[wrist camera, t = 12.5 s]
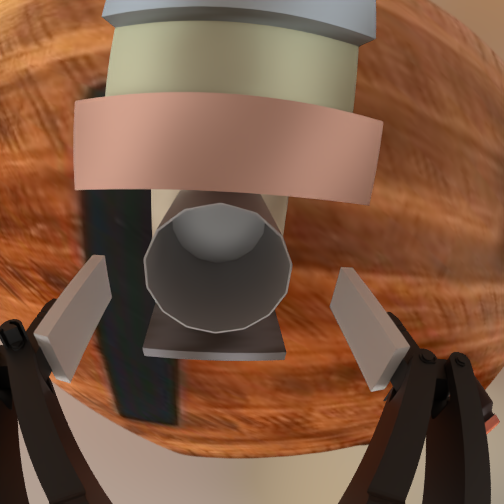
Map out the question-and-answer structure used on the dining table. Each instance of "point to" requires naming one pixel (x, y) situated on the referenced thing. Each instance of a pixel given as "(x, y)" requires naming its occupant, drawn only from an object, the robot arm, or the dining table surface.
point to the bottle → (487, 408)
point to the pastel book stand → (230, 122)
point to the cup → (217, 261)
